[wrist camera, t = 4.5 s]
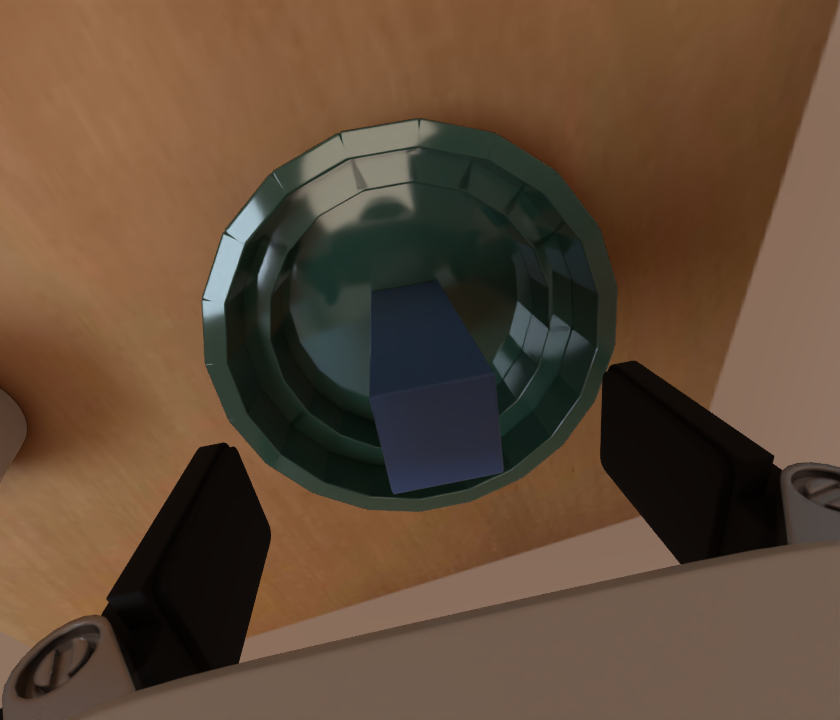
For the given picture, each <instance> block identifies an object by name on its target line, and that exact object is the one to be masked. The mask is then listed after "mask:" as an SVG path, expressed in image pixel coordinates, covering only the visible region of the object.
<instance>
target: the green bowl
mask: <svg viewBox="0 0 840 720" xmlns="http://www.w3.org/2000/svg"><path fill="white" fill-rule="evenodd" d="M436 280H437V281H438V282H439V283H440V285H441V287H442V288H443V290H444V292H445V293H446V295H447V297H448V298H449V300H450V301H451V303H452V305H453V306H454V308H455V310H456V311H457V313H458V315H459V316H460V318H461V320H462V321H463V323H464V325H465V326H466V328H467V329H468V331H469V333H470V334H471V336H472V338H473V339H474V341H475V343H476V344H477V346H478V348H479V349H480V351H481V352H482V354H483V356H484V357H485V359H486V361H487V362H488V364H489V366H490V367H491V369H492V371H493V372H494V374H495V380H496V390H497V401H498V412H499V423H500V434H501V444H502V455H503V466H504V470H503V472H502V473H499V474H494V475H489V476H484V477H479V478H474V479H469V480H464V481H459V482H453V483H448V484H443V485H438V486H433V487H428V488H423V489H418V490H413V491H408V492H403V493H398V494H393V492H392V490H391V486H390V482H389V478H388V474H387V470H386V466H385V462H384V457H383V453H382V449H381V445H380V441H379V437H378V433H377V429H376V424H375V420H374V416H373V412H372V408H371V404H370V400H369V382H370V314H371V293H372V292H376V291H382V290H387V289H392V288H398V287H403V286H409V285H414V284H420V283H425V282H431V281H436ZM617 291H618V289H617V283H616V280H615V276H614V273H613V270H612V266H611V263H610V260H609V256H608V253H607V250H606V246H605V243H604V240H603V236H602V233H601V230H600V227H598V224H597V223H596V221H595V220H594V219H593V217H592V216H591V215H590V213H589V212H588V211H587V209H586V208H585V207H584V205H583V204H582V203H581V201H580V200H579V199H578V197H577V196H576V195H575V193H574V192H573V191H572V189H571V188H570V187H569V186H568V184H567V183H566V182H565V180H564V179H563V178H562V176H561V175H560V174H559V173H557V171H556V170H555V169H553V168H552V167H550V166H548V165H547V164H545V163H544V162H542V161H540V160H539V159H537V158H536V157H534V156H532V155H531V154H529V153H527V152H526V151H524V150H523V149H521V148H519V147H518V146H516V145H515V144H513V143H511V142H510V141H508V140H507V139H505V138H503V137H502V136H500V135H499V134H495V133H494V132H490V131H485V130H479V129H474V128H469V127H464V126H459V125H454V124H448V123H443V122H438V121H433V120H428V119H423V118H420V119H418V118H415V119H409V120H403V121H398V122H392V123H386V124H380V125H374V126H369V127H363V128H357V129H351V130H345V131H341V132H340V133H336V134H335V135H333V136H331V137H329V138H328V139H326V140H324V141H323V142H321V143H319V144H317V145H316V146H314V147H312V148H311V149H309V150H307V151H306V152H304V153H302V154H300V155H299V156H297V157H295V158H294V159H292V160H290V161H289V162H287V163H285V164H283V165H282V166H280V167H278V168H277V169H275V170H273V172H272V173H271V174H269V175H268V176H267V177H266V179H265V180H264V181H263V182H262V184H261V185H260V186H259V187H258V189H257V190H256V191H255V192H254V194H253V195H252V196H251V197H250V199H249V200H248V201H247V202H246V204H245V205H244V206H243V207H242V209H241V210H240V211H239V212H238V213H237V215H236V216H235V217H234V218H233V220H232V221H231V222H230V223H229V225H228V226H227V227H226V228H225V232H223V233H222V236H221V239H220V242H219V246H218V249H217V252H216V255H215V258H214V261H213V264H212V267H211V271H210V274H209V277H208V280H207V283H206V286H205V289H204V292H203V296H202V298H203V299H202V318H203V338H204V357H205V366H206V368H207V370H208V373H209V375H210V377H211V380H212V382H213V385H214V387H215V389H216V392H217V394H218V397H219V399H220V401H221V404H222V406H223V408H224V411H225V413H226V416H227V418H228V420H229V422H230V423H231V424H232V425H233V426H234V427H235V429H236V430H237V431H238V432H239V433H240V434H241V435H242V437H243V438H244V439H245V440H246V441H247V442H248V443H249V445H250V446H251V447H252V448H253V449H254V450H255V452H256V453H257V454H258V455H259V456H260V457H261V458H262V460H263V461H264V462H265V463H266V464H268V465H269V466H270V467H272V468H274V469H275V470H277V471H278V472H280V473H282V474H283V475H285V476H286V477H288V478H290V479H291V480H293V481H294V482H296V483H297V484H299V485H301V486H302V487H304V488H305V489H307V490H309V491H310V492H312V493H315V494H317V495H320V496H324V497H327V498H330V499H333V500H337V501H340V502H343V503H347V504H350V505H353V506H357V507H360V508H363V509H366V508H367V510H387V511H410V512H419V511H421V512H422V511H427V510H432V509H437V508H442V507H447V506H452V505H457V504H462V503H467V502H471V501H472V500H476V499H478V498H480V497H482V496H485V495H487V494H489V493H491V492H493V491H495V490H498V489H500V488H502V487H504V486H506V485H508V484H510V483H513V482H515V481H517V480H519V479H520V478H523V477H524V476H525V475H527V474H528V473H529V472H530V471H531V470H533V469H534V468H535V467H536V466H538V465H539V464H540V463H541V462H543V461H544V460H545V459H546V458H548V457H549V456H550V455H551V454H552V453H554V452H555V451H556V450H557V449H559V448H560V447H561V446H562V444H564V443H565V441H566V440H567V439H568V437H569V436H570V435H571V433H572V432H573V430H574V429H575V428H576V426H577V425H578V424H579V422H580V421H581V420H582V418H583V417H584V415H585V414H586V413H587V411H588V410H589V409H590V407H591V406H592V404H593V403H594V402H595V400H594V399H596V397H597V395H598V392H599V389H600V386H601V384H602V378H603V374H604V373H605V372H606V370H607V367H608V364H609V362H610V359H611V356H612V354H613V351H614V346H615V337H616V314H617Z"/></svg>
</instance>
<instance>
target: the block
mask: <svg viewBox="0 0 840 720" xmlns="http://www.w3.org/2000/svg"><path fill="white" fill-rule="evenodd" d="M369 400H370V404H371V408H372V412H373V416H374V420H375V424H376V429H377V433H378V437H379V441H380V445H381V449H382V453H383V457H384V462H385V466H386V470H387V474H388V478H389V482H390V486H391V490H392V492H393V494H398V493H403V492H408V491H413V490H418V489H423V488H428V487H433V486H438V485H443V484H448V483H453V482H459V481H464V480H469V479H474V478H479V477H484V476H489V475H494V474H499V473H502V472H503V470H504V466H503V455H502V444H501V434H500V423H499V412H498V401H497V390H496V380H495V374H494V372H493V371H492V369H491V367H490V366H489V364H488V362H487V361H486V359H485V357H484V356H483V354H482V352H481V351H480V349H479V348H478V346H477V344H476V343H475V341H474V339H473V338H472V336H471V334H470V333H469V331H468V329H467V328H466V326H465V325H464V323H463V321H462V320H461V318H460V316H459V315H458V313H457V311H456V310H455V308H454V306H453V305H452V303H451V301H450V300H449V298H448V297H447V295H446V293H445V292H444V290H443V288H442V287H441V285H440V283H439V282H438V281H437V280H436V281H431V282H425V283H420V284H414V285H409V286H403V287H398V288H392V289H387V290H382V291H376V292H372V293H371V314H370V382H369Z"/></svg>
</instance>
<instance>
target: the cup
mask: <svg viewBox="0 0 840 720" xmlns="http://www.w3.org/2000/svg"><path fill="white" fill-rule="evenodd" d="M26 434H27V425H26V420H25V417H24V415H23V413H22V411H21V409H20V408H19V406H18V405H17V403H16V402H15V401H14V400H13V399H12V398H11V397H10V396H9V395H8V394H7V393H6V392H4V391H3V390H2V389H0V481H1V480H2V478H3V476H4V475H5V473H6V471H7V470H8V468H9V466H10V464H11V463H12V461H13V459H14V458H15V456H16V454H17V453H18V451H19V449H20V448H21V446H22V444H23V443H24V441H25V438H26Z"/></svg>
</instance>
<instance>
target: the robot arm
mask: <svg viewBox="0 0 840 720" xmlns="http://www.w3.org/2000/svg"><path fill="white" fill-rule="evenodd" d="M600 459H601V463H602V466H603V468H604V470H605V471H606V473H607V474H608V475H609V476H610V477H611V479H612V480H613V481H614V482H615V484H616V485H617V486H618V487H619V489H620V490H621V491H622V492H623V494H624V495H625V496H626V497H627V498H628V500H629V501H630V502H631V503H632V505H633V506H634V507H635V508H636V510H637V511H638V512H639V513H640V515H641V516H642V517H643V518H644V519H645V521H646V522H647V523H648V524H649V526H650V527H651V528H652V529H653V531H654V532H655V533H656V534H657V535H658V537H659V538H660V539H661V541H662V542H663V543H664V544H665V545H666V547H667V548H668V549H669V550H670V552H671V553H672V554H673V555H674V556H675V558H676V559H677V560H678V562H679V563H680V564H681V565H677V566H671V567H667V568H662V569H658V570H653V571H649V572H644V573H639V574H634V575H630V576H625V577H621V578H616V579H611V580H607V581H602V582H597V583H593V584H588V585H584V586H579V587H574V588H570V589H565V590H560V591H556V592H551V593H547V594H542V595H538V596H533V597H529V598H524V599H520V600H515V601H511V602H506V603H502V604H497V605H492V606H488V607H483V608H479V609H474V610H470V611H466V612H461V613H457V614H452V615H448V616H444V617H439V618H434V619H430V620H425V621H421V622H417V623H412V624H407V625H403V626H398V627H394V628H390V629H385V630H381V631H377V632H372V633H368V634H364V635H359V636H355V637H350V638H346V639H342V640H337V641H333V642H328V643H324V644H320V645H315V646H311V647H307V648H302V649H298V650H294V651H289V652H285V653H280V654H276V655H272V656H268V657H263V658H259V659H256V660H251V661H247V662H243V663H239V660H240V656H241V652H242V648H243V645H244V641H245V637H246V633H247V630H248V626H249V622H250V618H251V614H252V610H253V607H254V603H255V599H256V595H257V591H258V587H259V584H260V580H261V576H262V572H263V568H264V564H265V560H266V557H267V553H268V549H269V545H270V541H271V530H270V526H269V524H268V521H267V519H266V516H265V514H264V512H263V509H262V507H261V505H260V502H259V500H258V497H257V495H256V493H255V490H254V488H253V486H252V483H251V481H250V479H249V476H248V474H247V471H246V469H245V467H244V464H243V462H242V460H241V457H240V455H239V452H238V450H237V449H236V448H235V447H229V445H228V444H227V443H219V444H214V445H209V446H204V447H200V448H199V449H198V450H197V451H196V453H195V455H194V456H193V458H192V459H191V461H190V463H189V464H188V466H187V468H186V469H185V471H184V473H183V474H182V476H181V477H180V479H179V481H178V482H177V484H176V486H175V487H174V489H173V490H172V492H171V494H170V495H169V497H168V499H167V500H166V502H165V503H164V505H163V507H162V508H161V510H160V512H159V513H158V515H157V517H156V518H155V520H154V521H153V523H152V525H151V526H150V528H149V530H148V531H147V533H146V534H145V536H144V538H143V539H142V541H141V543H140V544H139V546H138V547H137V549H136V551H135V552H134V554H133V556H132V557H131V559H130V561H129V562H128V564H127V565H126V567H125V569H124V570H123V572H122V574H121V575H120V577H119V578H118V580H117V582H116V583H115V585H114V587H113V588H112V590H111V591H110V593H109V595H108V596H107V598H106V599H107V600H108V602H109V603H108V605H107V606H106V608H105V610H104V611H103V613H102V615H101V616H100V615H89V616H83V617H80V618H78V619H75V620H73V621H70V622H68V623H66V624H64V625H63V626H61V627H59V628H57V629H56V630H54V631H53V632H51V633H50V634H49V635H47V636H46V637H45V638H43V639H42V640H41V641H39V642H38V643H37V644H36V645H35V646H34V647H33V648H32V649H31V650H30V651H29V652H28V653H27V654H26V655H25V656H24V657H23V658H22V659H21V660H20V662H19V663H18V664H17V665H16V667H15V668H14V669H13V671H12V672H11V674H10V676H9V678H8V680H7V682H6V684H5V685H4V690H3V695H2V708H1V709H0V720H840V467H836V466H832V465H828V464H821V463H812V462H810V463H796V464H793V465H790V466H787V467H786V468H785V469H784V470H781V469H780V468H778V467H777V466H775V465H774V464H773V460H774V455H772V454H771V453H769V452H768V451H766V450H765V449H763V448H762V447H761V446H759V445H758V444H756V443H755V442H753V441H752V440H750V439H749V438H747V437H746V436H744V435H743V434H742V433H740V432H739V431H737V430H736V429H734V428H733V427H731V426H730V425H728V424H727V423H725V422H724V421H723V420H721V419H720V418H718V417H717V416H715V415H714V414H713V413H711V412H710V411H708V410H707V409H705V408H704V407H702V406H701V405H699V404H698V403H697V402H695V401H694V400H692V399H691V398H689V397H688V396H686V395H685V394H683V393H682V392H681V391H679V390H678V389H676V388H675V387H673V386H672V385H670V384H669V383H667V382H666V381H665V380H663V379H662V378H660V377H659V376H657V375H656V374H654V373H653V372H651V371H650V370H649V369H647V368H646V367H644V366H643V365H641V364H640V363H638V362H636V361H629V362H624V363H619V364H614V365H611V366H610V367H609V369H608V371H607V372H605V373H604V374H603V378H602V411H601V445H600Z"/></svg>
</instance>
